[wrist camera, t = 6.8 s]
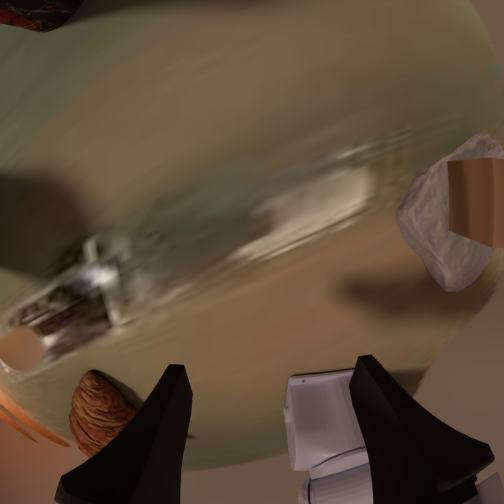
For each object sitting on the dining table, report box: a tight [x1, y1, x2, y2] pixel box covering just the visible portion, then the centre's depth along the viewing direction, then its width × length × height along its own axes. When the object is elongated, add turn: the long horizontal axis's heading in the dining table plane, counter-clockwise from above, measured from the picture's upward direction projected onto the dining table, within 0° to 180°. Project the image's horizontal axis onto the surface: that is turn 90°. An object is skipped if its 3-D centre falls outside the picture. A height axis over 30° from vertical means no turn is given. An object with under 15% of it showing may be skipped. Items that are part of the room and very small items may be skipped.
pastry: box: [69, 370, 138, 458], centre depth 26 cm, size 17×15×8 cm
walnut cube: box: [447, 157, 504, 248], centre depth 11 cm, size 4×4×5 cm
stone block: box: [396, 132, 504, 292], centre depth 17 cm, size 12×5×10 cm
